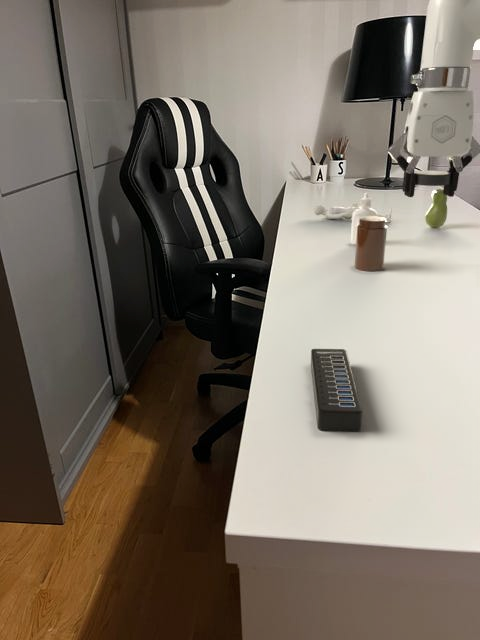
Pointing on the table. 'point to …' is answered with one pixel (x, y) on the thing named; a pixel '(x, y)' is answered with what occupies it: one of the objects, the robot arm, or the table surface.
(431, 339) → the table surface
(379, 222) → the jar
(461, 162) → the robot arm
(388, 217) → the male figure
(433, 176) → the lid
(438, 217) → the pear
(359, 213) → the eye dropper bottle
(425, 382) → the table surface
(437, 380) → the table surface
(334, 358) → the multiport hub
